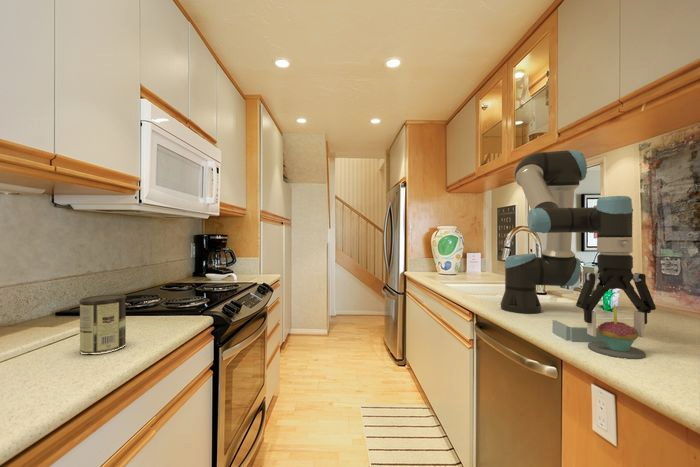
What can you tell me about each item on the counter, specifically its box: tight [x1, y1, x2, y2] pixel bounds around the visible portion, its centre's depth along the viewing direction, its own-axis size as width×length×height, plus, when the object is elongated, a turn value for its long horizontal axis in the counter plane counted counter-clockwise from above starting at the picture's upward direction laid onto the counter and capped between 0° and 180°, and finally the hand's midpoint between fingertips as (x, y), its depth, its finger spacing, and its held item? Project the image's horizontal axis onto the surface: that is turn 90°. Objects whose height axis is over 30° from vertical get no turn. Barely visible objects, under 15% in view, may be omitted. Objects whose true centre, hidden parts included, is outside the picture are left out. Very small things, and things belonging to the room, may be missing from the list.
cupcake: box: [597, 304, 639, 352], centre depth 90 cm, size 9×8×12 cm
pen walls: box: [551, 319, 605, 343], centre depth 101 cm, size 9×17×4 cm, turn 85°
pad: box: [587, 342, 646, 360], centre depth 90 cm, size 12×12×1 cm
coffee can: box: [79, 293, 127, 354], centre depth 91 cm, size 10×10×14 cm
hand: (615, 335), depth 90 cm, fingers open, 11 cm apart
